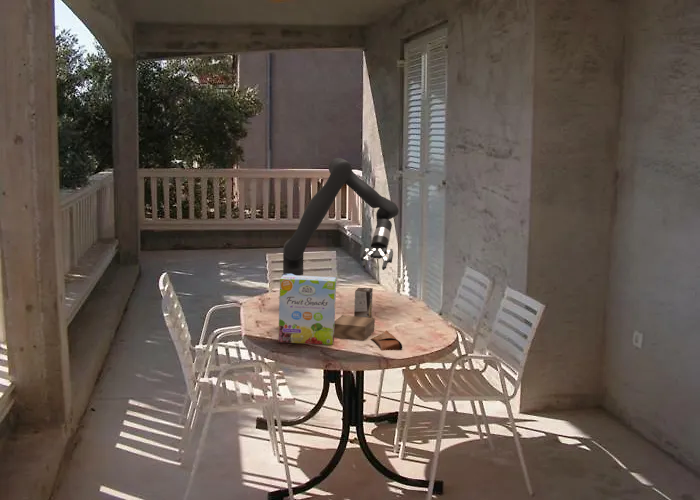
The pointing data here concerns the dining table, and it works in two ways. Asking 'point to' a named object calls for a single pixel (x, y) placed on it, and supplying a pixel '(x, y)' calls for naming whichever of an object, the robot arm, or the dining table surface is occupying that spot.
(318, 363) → the dining table surface
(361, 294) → the coffee box
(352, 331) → the walnut block
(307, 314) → the snack box
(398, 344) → the sunglasses case
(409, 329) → the dining table surface
